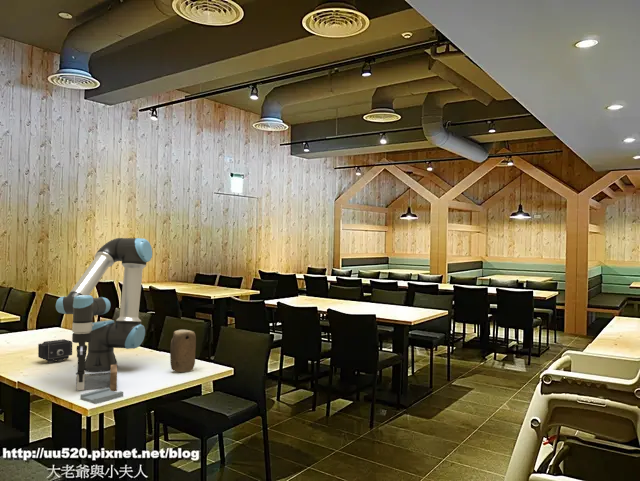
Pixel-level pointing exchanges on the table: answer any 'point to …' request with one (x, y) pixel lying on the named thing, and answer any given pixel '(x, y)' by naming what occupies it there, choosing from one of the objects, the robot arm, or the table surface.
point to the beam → (113, 378)
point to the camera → (55, 350)
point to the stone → (183, 350)
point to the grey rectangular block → (96, 381)
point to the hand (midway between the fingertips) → (80, 387)
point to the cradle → (100, 395)
